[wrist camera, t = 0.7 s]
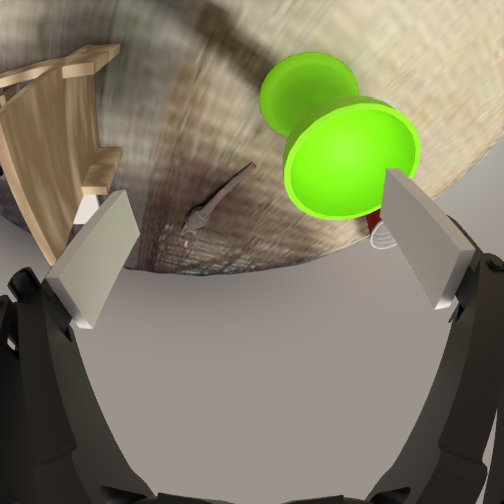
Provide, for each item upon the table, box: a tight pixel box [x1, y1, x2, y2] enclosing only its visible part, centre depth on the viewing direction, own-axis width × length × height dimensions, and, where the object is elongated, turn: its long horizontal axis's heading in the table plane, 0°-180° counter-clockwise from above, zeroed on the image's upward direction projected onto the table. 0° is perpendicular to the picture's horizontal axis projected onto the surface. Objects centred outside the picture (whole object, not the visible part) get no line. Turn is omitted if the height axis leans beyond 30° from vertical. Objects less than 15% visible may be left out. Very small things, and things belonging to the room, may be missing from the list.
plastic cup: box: [366, 208, 397, 249], centre depth 51 cm, size 11×11×12 cm
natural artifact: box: [182, 163, 256, 235], centre depth 52 cm, size 4×23×4 cm
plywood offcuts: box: [0, 83, 20, 108], centre depth 27 cm, size 5×12×4 cm, turn 168°
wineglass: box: [259, 53, 421, 220], centre depth 32 cm, size 16×16×18 cm
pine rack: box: [0, 43, 122, 266], centre depth 24 cm, size 24×20×22 cm
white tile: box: [73, 195, 100, 224], centre depth 45 cm, size 14×14×1 cm
